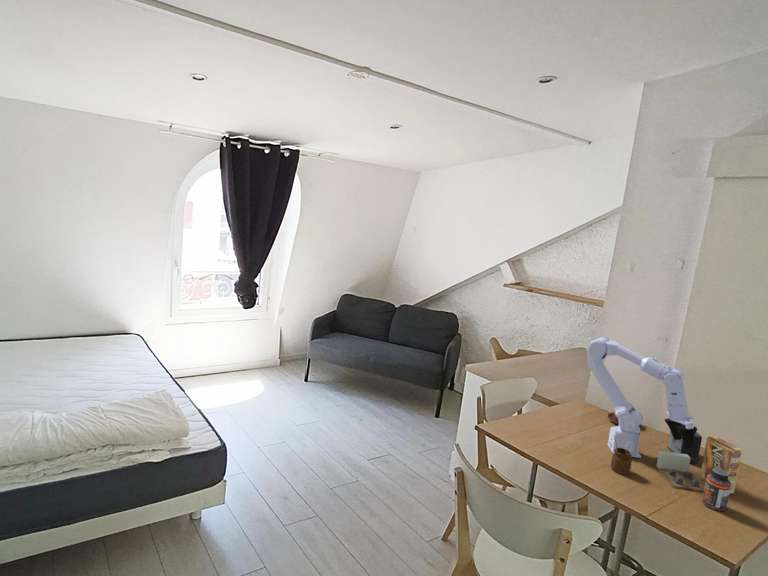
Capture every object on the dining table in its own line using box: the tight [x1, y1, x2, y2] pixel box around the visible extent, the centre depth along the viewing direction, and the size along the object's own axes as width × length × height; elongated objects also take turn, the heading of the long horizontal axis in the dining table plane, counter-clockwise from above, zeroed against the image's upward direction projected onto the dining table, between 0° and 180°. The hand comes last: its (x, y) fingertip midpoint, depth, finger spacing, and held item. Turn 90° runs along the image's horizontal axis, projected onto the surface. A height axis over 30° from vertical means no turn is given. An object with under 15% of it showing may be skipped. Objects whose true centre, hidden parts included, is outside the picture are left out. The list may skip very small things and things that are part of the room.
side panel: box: [658, 468, 706, 493], centre depth 145 cm, size 12×10×3 cm
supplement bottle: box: [702, 468, 731, 512], centre depth 132 cm, size 6×6×11 cm
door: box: [656, 450, 691, 472], centre depth 151 cm, size 9×2×6 cm, turn 79°
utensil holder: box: [610, 435, 634, 475], centre depth 148 cm, size 6×6×12 cm
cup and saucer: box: [607, 411, 619, 425], centre depth 188 cm, size 12×12×6 cm
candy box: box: [699, 436, 743, 495], centre depth 142 cm, size 9×4×15 cm, turn 13°
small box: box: [667, 425, 703, 464], centre depth 162 cm, size 11×6×10 cm, turn 168°
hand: (682, 443), depth 150 cm, fingers open, 7 cm apart
